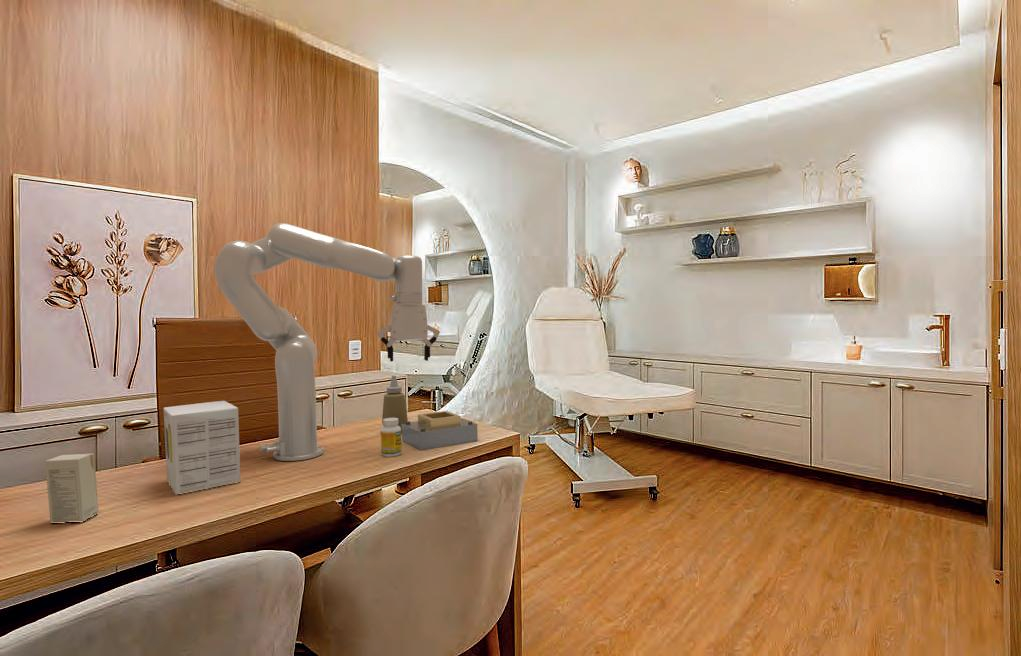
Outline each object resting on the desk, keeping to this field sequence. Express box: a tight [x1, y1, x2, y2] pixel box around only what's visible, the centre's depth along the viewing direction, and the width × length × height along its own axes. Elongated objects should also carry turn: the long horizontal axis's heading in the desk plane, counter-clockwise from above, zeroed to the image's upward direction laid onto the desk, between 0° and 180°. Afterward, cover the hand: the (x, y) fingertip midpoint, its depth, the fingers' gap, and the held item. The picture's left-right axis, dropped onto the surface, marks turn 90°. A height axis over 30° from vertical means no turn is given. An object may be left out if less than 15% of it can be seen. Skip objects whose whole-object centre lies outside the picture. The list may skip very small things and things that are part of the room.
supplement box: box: [163, 400, 241, 495], centre depth 123 cm, size 13×13×18 cm
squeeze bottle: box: [381, 375, 409, 434], centre depth 170 cm, size 8×8×18 cm
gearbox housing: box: [401, 410, 479, 451], centre depth 159 cm, size 18×14×8 cm
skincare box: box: [44, 452, 100, 522], centre depth 102 cm, size 6×4×12 cm
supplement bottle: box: [380, 418, 403, 458], centre depth 144 cm, size 5×5×10 cm
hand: (409, 360), depth 151 cm, fingers open, 9 cm apart
